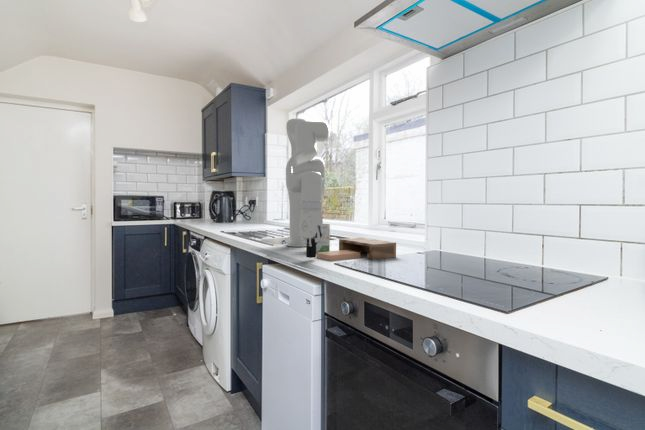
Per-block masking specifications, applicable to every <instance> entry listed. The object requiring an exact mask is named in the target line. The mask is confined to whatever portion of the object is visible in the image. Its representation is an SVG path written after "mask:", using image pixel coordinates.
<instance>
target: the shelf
mask: <svg viewBox="0 0 645 430" xmlns="http://www.w3.org/2000/svg"><path fill="white" fill-rule="evenodd" d="M339 250H349V251H355V252H360V253H366V258H367V259H370V260H373V259H376V260H383V258H385V259H392V258H391V257H394V258H397V242H396V241H395V242H393V241H388V240H379V239H373V238H365V237H350V238H339V239H338V251H339Z"/></svg>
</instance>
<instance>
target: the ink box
mask: <svg viewBox="0 0 645 430" xmlns="http://www.w3.org/2000/svg"><path fill="white" fill-rule="evenodd" d="M330 239H331V224H330V223H323V236H322V237H321V238H320V240H321V241H320V242H318V243H317V246H316V252H328V251H331V250H330V247H331V246H330V245H331V244H330V243H331V240H330Z"/></svg>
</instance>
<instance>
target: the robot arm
mask: <svg viewBox="0 0 645 430" xmlns="http://www.w3.org/2000/svg"><path fill="white" fill-rule="evenodd" d="M285 130H286V134H287V138H288V141H289V143H290V148H291V149H290V150H291V151H290V152H291V154H290V155H291V156H290V158H288V161H287V163H286V167H285V186H286V189H287V192H288V194H287V195H288V200H289V201H288V202H289V237H288V238H287V239H288V240H289V241H288V242H286V243H285V244H286V245H285V246H288V247H293V248H295V247H296V248H300V247H301V248H302V247H305V248H306V249H305V251H306V254H305V255H306V256H305V257H306V258H310V259H311V258H317V251H316V246H317V243H318V242H320V241H321V240H320V238H321V237H322V236H323V224H324V222H323V209H322V208H323V202H322V201H323V200H322V199H323V198H324V196H325V181H326V178H325V176H326V175H325V174H326V168H325V167H326V164H325V161H324V159H323V158H322V157H320V156H317V155H318V148H317V142H321V143H324V142H328V140H329V138H330V135H331V133H330V132H331V128H330V125H329V123H328V122H327V121H326V120H324V119H319V118H318V119H317V118H302V117H301V118H299V117H297V118H290V119H288V120H287V122H286V129H285Z"/></svg>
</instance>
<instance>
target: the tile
mask: <svg viewBox="0 0 645 430" xmlns="http://www.w3.org/2000/svg"><path fill="white" fill-rule="evenodd" d="M316 258H317V259H320V260H321V259H322V260H325V261H331V262H333V261H341V260H349V259H350V260H351V259H359V258H360V259H361V252H355V251H349V250H339V249H338V250H329V251H328V252H319V251H317V252H316Z"/></svg>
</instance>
